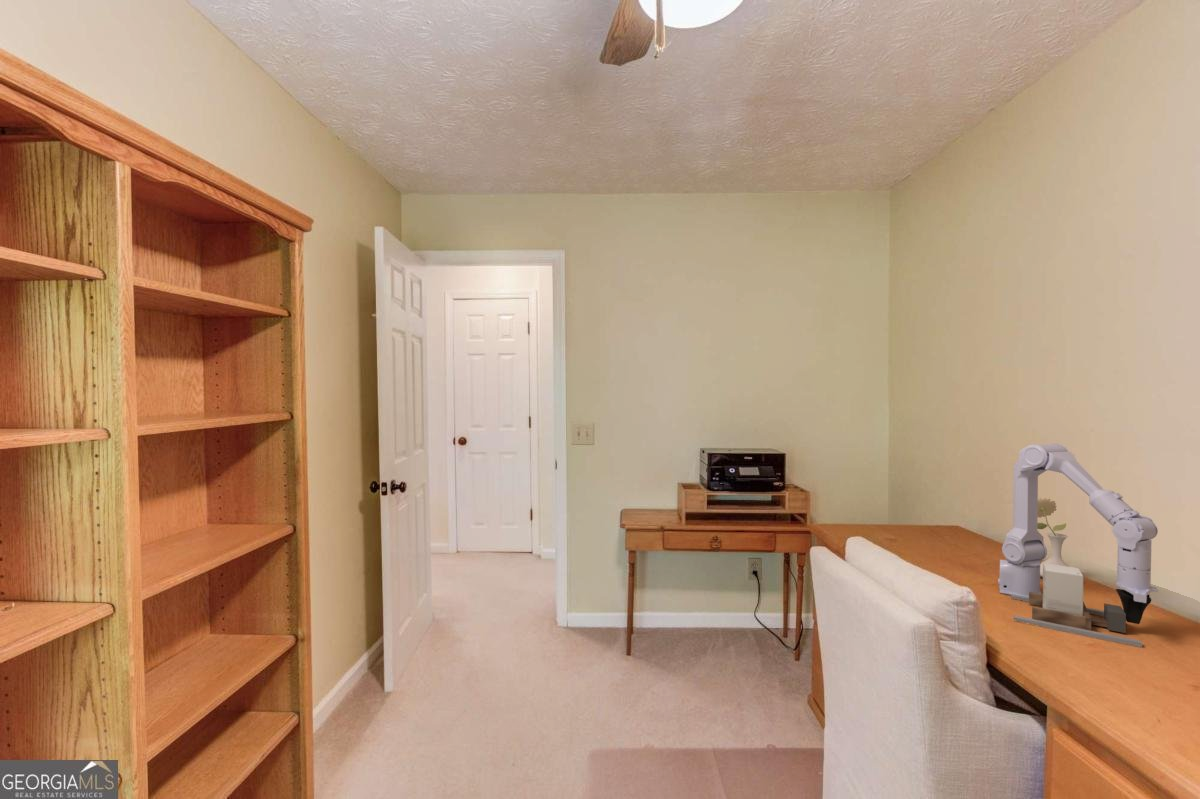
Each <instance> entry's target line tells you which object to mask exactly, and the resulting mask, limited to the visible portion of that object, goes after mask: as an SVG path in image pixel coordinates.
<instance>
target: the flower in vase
mask: <svg viewBox="0 0 1200 799" xmlns="http://www.w3.org/2000/svg"><path fill="white" fill-rule="evenodd" d="M1056 511H1057V502H1056V501H1055V500H1051V498H1047V497H1044V498H1041V497H1039V498H1038V518H1043V517H1044V519H1045V522H1046V523H1044V522H1037V530H1044V529H1046V528H1049V530H1051V532H1046V533H1045V534H1046V536H1047V537H1048V538H1049V541H1050V544H1051V545H1050V546H1051V555H1050V557H1049V558H1048V559H1045V560H1044V561H1041V564H1040V578H1043V563H1046V564H1053V565H1060V566H1067V567H1071V566H1070V565H1069V564H1068V563H1067V562H1065V561H1064V559H1063V556H1062V548H1063V543H1064V541H1065V540H1066V539H1067V538H1068V535H1066V534H1063V533H1059V532H1060V531H1063V530H1065V529H1066V526H1067V523H1062V524H1057V525H1054V526H1053V528H1052V527H1051V526H1050V524H1049V522H1048V518H1047V517H1048V516H1052V514H1054V512H1056ZM1058 531H1059V532H1058Z"/></svg>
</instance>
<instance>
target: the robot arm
mask: <svg viewBox="0 0 1200 799" xmlns="http://www.w3.org/2000/svg"><path fill="white" fill-rule="evenodd" d="M1046 471H1047V472H1048V471H1052V472H1056V473H1061V474H1063V475H1064V476H1065V477H1066V478H1067V479H1068V480H1070V481H1071V482H1072V483H1073V484H1075V485H1076V486H1077V488H1079V489H1080V490H1081V491H1082V492H1083V493H1085V494H1086V495H1087V496H1088V497H1089V504H1090V506H1091V507H1093V508H1094V510H1096V512H1097V513H1098V514H1100V515H1101V517H1102V518H1103V519H1105V520H1106V521H1107V522H1108V523H1109V524H1110V525H1111V532H1112V534H1113V535H1114V537H1115V538H1116V540H1117V543H1116V544H1117V560H1116V561H1117V563H1116V564H1117V565H1116V568H1117V569H1116V581H1115V585H1116V587H1118V588H1116V589H1115V591H1116V593H1117V594H1118V597H1119V598H1120V601H1121V606H1122V609H1123V611H1124V612H1125V614H1126V623H1130V624H1136V625H1140V623H1141V621H1142V618H1143V615H1144V612H1145V610H1146V609H1147V607H1148V605H1149V604H1151V602H1152V597H1150V593H1151V592H1154V593H1158V591H1159V590H1158V588H1157V587H1156V586H1152V585H1151V584H1152V583H1151V582H1152V580H1151V579H1152V578H1151V576H1152V572H1151V571H1152V570H1151V569H1152V540H1153V539H1154V538H1156V537H1157V535H1158V533H1159V532H1158V531H1159V530H1158V529H1159V528H1158V526H1157V525H1156V523H1155V522H1154V521H1153V519H1152V518H1150V517H1148V516H1144V515H1140V513H1139V511H1138V510H1134V509H1133V508H1132V507H1131V506H1130V505H1129V504H1128V503H1127V502H1125V501H1124V500H1123V499H1122V498H1123V496H1122V495H1121V493H1120V492H1119V493H1116V492H1115V491H1114V490H1110V489H1109V490H1108V489H1104V488H1103V487H1102V486H1101V485H1100V484H1099V483H1098V482H1097V480H1095V478H1093V477H1092V475H1091V474H1089V472H1088V471H1087V470H1086V469H1085V468H1084V467H1083V466H1082V465H1081V464H1080V463H1079V462H1078V461H1077V460H1076V457H1075V454H1073V453H1072V452H1071V451H1069V450H1068V449H1067V447H1066V446H1064V445H1062V444H1060V443H1050V444H1049V443H1047V444H1030V445H1027V446H1025V447H1023V448H1022V449H1020V450H1019V456H1018V459H1017V460H1016V462H1015V464H1014V466H1013V473H1012V475H1013V477H1012V479H1013V482H1012V483H1013V489H1012V490H1013V491H1012V492H1013V493H1012V494H1013V495H1012V496H1013V497H1012V528H1011V529H1010V530H1009V531H1008V532H1007V533H1006V535H1005V541H1004V542H1003V543H1002V547H1001V551H1002V555H1003V556H1004V558H1005V559H999V572H998V573H999V575H998V576H999V578H998V579H997V586H999V587H998V588H999V593H1000V594H1004V595H1010V596H1011V594H1015V595H1020V596H1026V597H1029V592H1034V593H1039V594H1042V591H1041V576H1040V564H1041V562H1042V560H1044V559H1045V558H1046V556H1047V555H1048V551H1047V550H1048V549H1047V547H1046V545H1045V543H1044V536H1043V535H1042V534H1041V533H1040V531H1039V529H1037V523H1038V518H1039V517H1038V499H1039V498H1038V496H1039V492H1038V490H1039V476H1040V475H1042V474H1043V473H1045V472H1046ZM1120 588H1121V589H1120Z"/></svg>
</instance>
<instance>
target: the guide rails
mask: <svg viewBox="0 0 1200 799" xmlns="http://www.w3.org/2000/svg"><path fill="white" fill-rule="evenodd" d="M1011 598H1012V599H1011ZM1010 599H1011V600H1014V599H1017V600H1016V601H1019V600H1022V601H1021V602H1025V601H1027V602H1026V603H1029V597H1026V596H1020V595H1015V594H1011V595H1010ZM1086 608H1087V611H1088V613H1089V615H1095V616H1101V617H1104V609H1102V610H1101V609H1096V608H1091V607H1086ZM1014 620H1016V621H1020V622H1024V623H1023V624H1025V623H1029V624H1028V625H1030V624H1034V625H1033V626H1035V625H1038V626H1037V627H1040V626H1042V627H1041V628H1046V629H1049V628H1050V629H1051V630H1054V629H1055V631H1060V632H1064V633H1070V634H1074V635H1079V636H1085V637H1090V638H1095V639H1099V640H1104V641H1108V642H1113V643H1118V644H1121V645H1122V644H1124V645H1127V644H1128V645H1127V646H1133V647H1137V648H1143V642H1142V641H1141V640H1139V639H1134V638H1130V637H1124V636H1119V635H1115V634H1109V633H1103V632H1099V631H1094V630H1091V631H1090V630H1085V629H1080V628H1075V627H1070V626H1065V625H1060V624H1055V623H1050V622H1045V621H1040V620H1035V619H1032V618H1030V617H1029V618H1028V617H1025V616H1019V615H1014V614H1013V621H1014ZM1020 622H1019V623H1020Z"/></svg>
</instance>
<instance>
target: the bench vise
mask: <svg viewBox="0 0 1200 799" xmlns="http://www.w3.org/2000/svg"><path fill="white" fill-rule="evenodd" d="M1028 604H1029V605H1033V606H1031V619H1035V620H1040V621H1045V622H1050V623H1055V624H1060V625H1065V626H1070V627H1075V628H1080V629H1085V630H1090V631H1092V625H1093V626H1098V627H1104V628H1107V630H1109V631H1113V632H1119V633H1124V634H1126V633H1127V632H1126V631H1127V630H1126V626H1127V621H1126V614H1125V612H1124V610H1123V606H1122V605H1116V604H1111V603H1106V602H1105V603H1103V611H1104V616H1103V618H1100V617H1095V616H1091V614H1089V613H1088V611H1087V608H1088V607H1087V606H1086V605H1085V601H1083V616H1081V615H1075V614H1070V613H1065V612H1060V611H1054V610H1049V609H1044V608H1043V593H1041V594H1039V593H1034V592H1029V602H1028Z"/></svg>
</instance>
